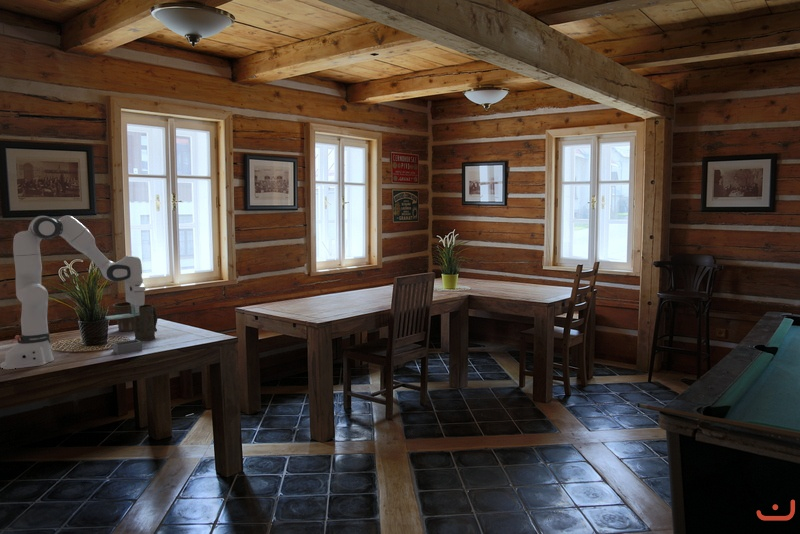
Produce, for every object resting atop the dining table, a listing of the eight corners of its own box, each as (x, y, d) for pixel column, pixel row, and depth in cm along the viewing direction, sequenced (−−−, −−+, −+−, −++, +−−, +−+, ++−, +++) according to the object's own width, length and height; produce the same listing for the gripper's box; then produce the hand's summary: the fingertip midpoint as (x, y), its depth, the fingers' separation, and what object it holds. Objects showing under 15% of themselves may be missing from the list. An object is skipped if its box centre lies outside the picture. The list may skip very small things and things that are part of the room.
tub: (118, 355, 314) (117, 345, 313) (113, 352, 320) (112, 343, 319) (142, 351, 322) (141, 341, 321) (137, 348, 328) (136, 339, 327)
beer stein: (147, 342, 340) (146, 306, 340) (129, 342, 343) (129, 306, 342) (163, 338, 355) (162, 303, 355) (146, 337, 358) (145, 303, 357)
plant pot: (119, 333, 365) (118, 306, 364) (110, 329, 377) (108, 303, 375) (147, 329, 376) (146, 303, 374) (138, 325, 388) (136, 300, 386)
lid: (109, 320, 318) (109, 311, 317) (105, 318, 324) (104, 309, 323) (141, 316, 327) (140, 308, 327) (136, 314, 334) (135, 306, 333)
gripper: (121, 284, 334) (123, 310, 335) (133, 288, 318) (135, 315, 320) (133, 283, 338) (135, 308, 339) (146, 287, 322) (147, 313, 324)
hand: (135, 312), depth 329 cm, fingers closed on lid, 3 cm apart
